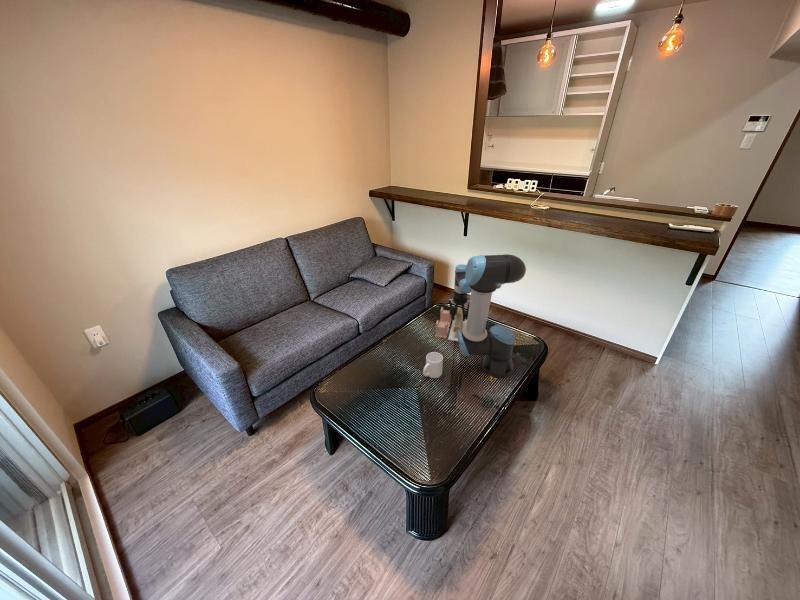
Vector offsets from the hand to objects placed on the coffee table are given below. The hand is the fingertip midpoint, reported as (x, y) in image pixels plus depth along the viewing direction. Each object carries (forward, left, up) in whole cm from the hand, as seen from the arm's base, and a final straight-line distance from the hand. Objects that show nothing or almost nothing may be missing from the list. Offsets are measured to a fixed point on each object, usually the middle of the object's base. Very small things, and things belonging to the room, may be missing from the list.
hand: (458, 324), depth 186 cm
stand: (+9, 0, -4) cm, 10 cm away
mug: (+8, +43, -4) cm, 44 cm away
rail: (0, 0, +2) cm, 2 cm away
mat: (0, 0, -4) cm, 4 cm away
